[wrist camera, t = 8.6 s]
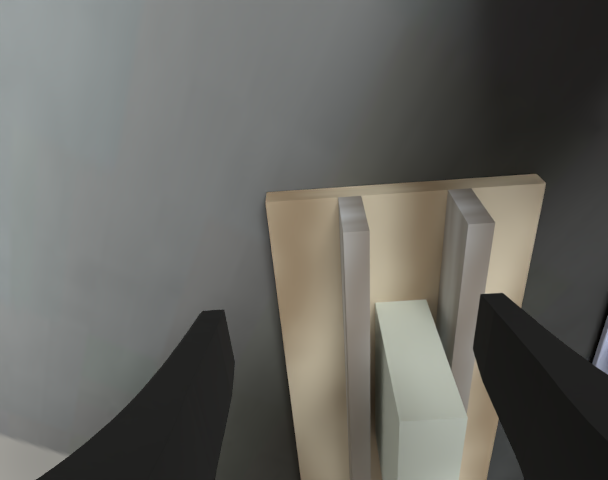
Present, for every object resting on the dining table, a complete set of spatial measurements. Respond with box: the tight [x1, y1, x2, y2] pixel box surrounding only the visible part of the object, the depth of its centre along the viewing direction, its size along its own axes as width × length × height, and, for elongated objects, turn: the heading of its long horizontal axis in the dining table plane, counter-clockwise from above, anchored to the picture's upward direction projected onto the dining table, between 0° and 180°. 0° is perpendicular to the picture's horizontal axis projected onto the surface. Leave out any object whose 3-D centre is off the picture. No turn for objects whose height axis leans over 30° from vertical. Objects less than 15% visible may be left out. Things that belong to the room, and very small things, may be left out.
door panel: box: [375, 299, 468, 480], centre depth 24 cm, size 2×10×7 cm, turn 5°
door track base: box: [265, 174, 546, 480], centre depth 26 cm, size 12×22×4 cm, turn 4°
